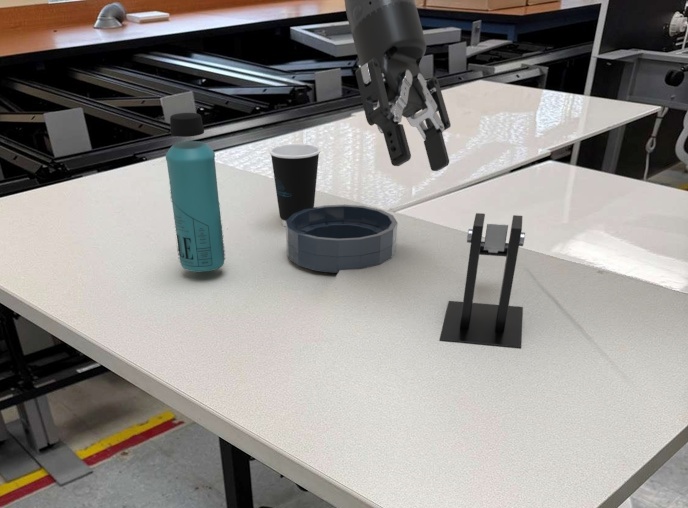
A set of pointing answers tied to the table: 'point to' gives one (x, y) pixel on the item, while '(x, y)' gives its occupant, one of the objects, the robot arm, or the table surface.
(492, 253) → the tap lever
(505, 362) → the table surface
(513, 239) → the bracket
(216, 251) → the beverage bottle
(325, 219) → the grey shallow bowl
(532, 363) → the table surface
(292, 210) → the dixie cup
